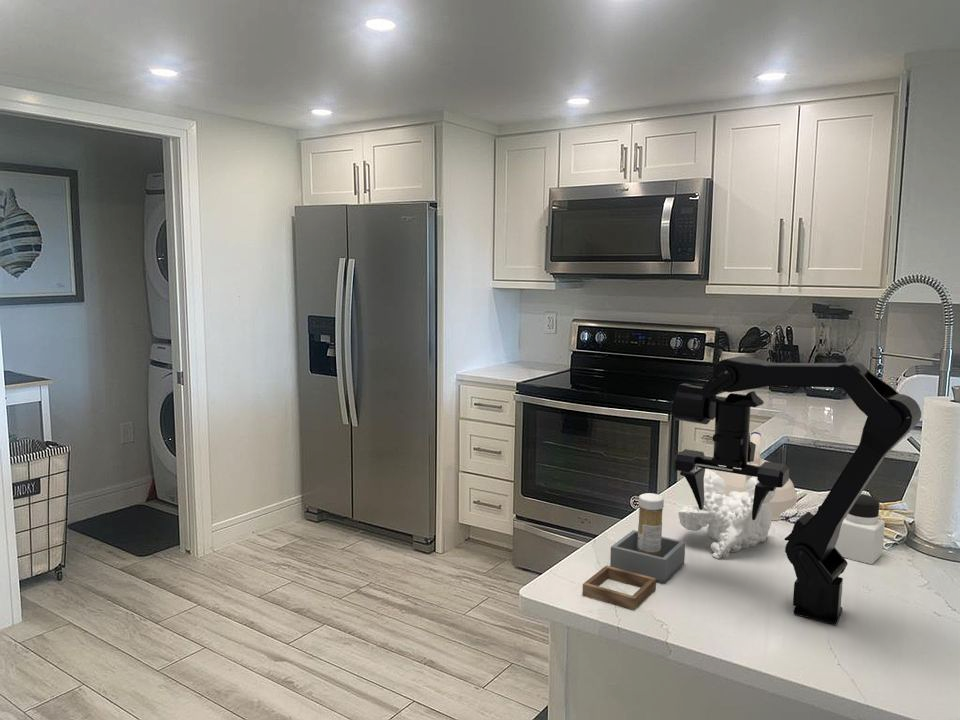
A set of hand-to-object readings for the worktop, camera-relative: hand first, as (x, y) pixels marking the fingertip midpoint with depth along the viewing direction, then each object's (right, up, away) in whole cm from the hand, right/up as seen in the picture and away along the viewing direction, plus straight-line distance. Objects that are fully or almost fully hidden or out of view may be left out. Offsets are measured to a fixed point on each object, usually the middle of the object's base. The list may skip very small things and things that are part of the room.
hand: (727, 514), depth 128 cm
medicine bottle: (+31, -12, +15) cm, 37 cm away
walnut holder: (-20, -13, -2) cm, 24 cm away
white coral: (+7, -11, +21) cm, 25 cm away
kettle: (+21, -8, +44) cm, 49 cm away
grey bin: (-12, -12, +9) cm, 19 cm away
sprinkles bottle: (-12, -12, +9) cm, 19 cm away
